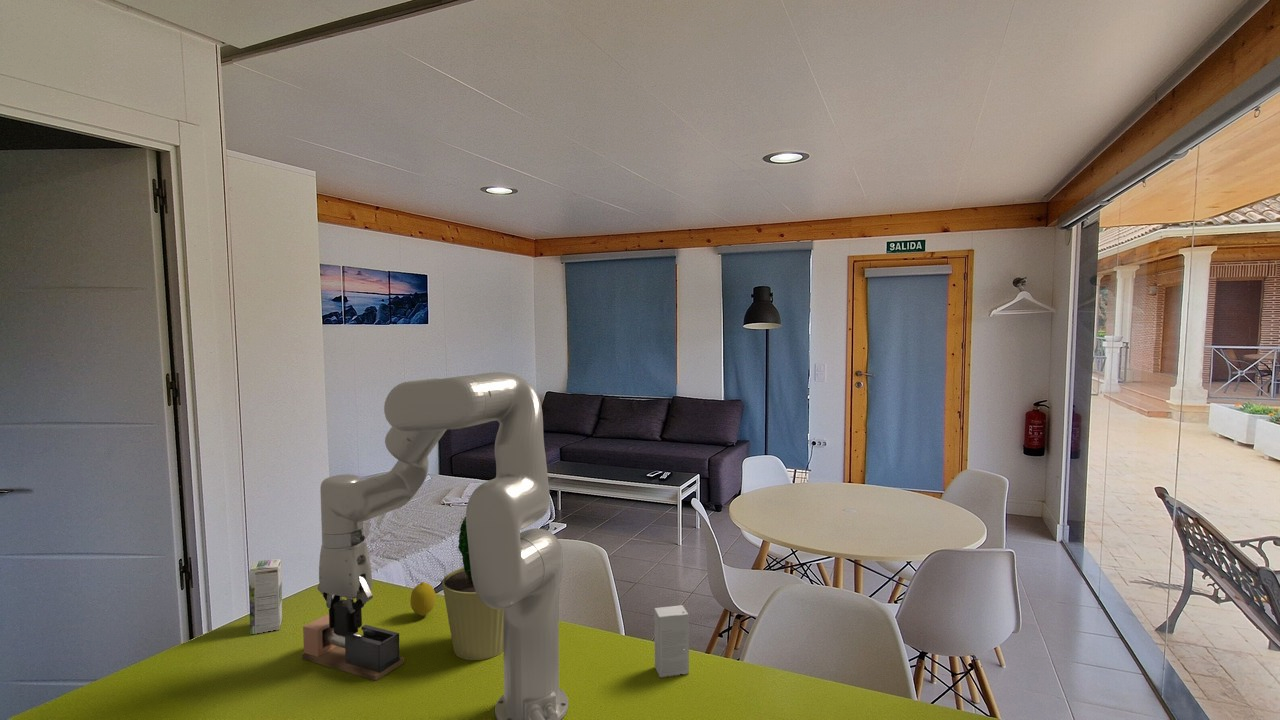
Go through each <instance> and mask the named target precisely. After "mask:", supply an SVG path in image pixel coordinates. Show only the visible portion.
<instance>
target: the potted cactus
mask: <svg viewBox="0 0 1280 720" xmlns="http://www.w3.org/2000/svg"><path fill="white" fill-rule="evenodd" d="M461 515H462V514H461ZM461 515H460V516H461ZM462 516H463V515H462ZM459 528H460V529H459ZM459 528H458V529H457V530H456V531H457V532H459V533H456V535H458V536H457V537H458V541H457V542H458V545H457V552H456V554H458V553H459V554H461V561H462V567H460V568H458V569H455V570H453V571H451V572H449V573H448V574H446V575H445V576H444V577H443V578H442V581H441V583H442V591H443V596H444V597H443V598H444V601H445V607H446V613H447V614H446V615H447V619H448V626H449V631H450V637H451V643H452V644H451V645H452V648H453V651H454V652H453V653H454V655H456V656H457V657H459V658H461V659H463V660H466V661H483V660H488V659H491V658H492V659H493V658H494V657H497V656H499V655H501V654H503V653H504V640H503V615H504V609H493V608H491V607H488V606H487V605H485V604H484V603H483V602H482V601H481V599H480V598H479V597H478V595H477V593H476V591H475V588H474V585H473V581H472V575H471V567H470V557H469V548H468V538H467V528H466V516H464V517H463V518H461V523H460V526H459Z"/></svg>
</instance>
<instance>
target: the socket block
mask: <svg viewBox="0 0 1280 720" xmlns="http://www.w3.org/2000/svg"><path fill="white" fill-rule="evenodd" d="M328 627H329V613H328V614H325V615H323V616H320V617H318V618H317V619H316V620H313V621H311V622H308V623H307V624H304V625H303V626H302V632H303V633H302V634H303V653H306V654H310V655H313V656H317V657H319V656H321V655H322V654H324V653H326V652H328V651H329V650H331V649H333V648H335V647H337V646H335V645H331V644H328V643H324V642H322V630H324V629H326V628H328Z"/></svg>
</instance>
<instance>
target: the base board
mask: <svg viewBox="0 0 1280 720" xmlns="http://www.w3.org/2000/svg"><path fill="white" fill-rule="evenodd" d="M301 659H302V660H304V661H305V660H306V661H307V662H312V663H316V664H319V665H322V666H325V667H329V668H332V669H335V670H338V671H342V672H345V673H349V674H352V675H355V676H358V677H362V678H366V679H368V680H372V681H378V680H380V679H381V678H383V677H384V676H386V675H387V674H388V673H390V672H392V671H394V670H395V669H396V668H398V667H399V666H400V665H403V664H404V657H403V656H400V660H399V661H398V662H396V663H395V664H393V665H392V666H390V667H389V668H387V669H386V670H384V671H382V672H381V673H378V672H375V671H372V670H368V669H365V668H361V667H358V666H354V665H351V664H347V663H346V656H345V648H342V647H338V646H337V647H335V648H333V649H331V650H329V651H328V652H326V653H324V654H322V655H321V656H319V657H317V656H313V655H310V654H306V653H304V652H302V653H301Z"/></svg>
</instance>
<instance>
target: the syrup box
mask: <svg viewBox="0 0 1280 720" xmlns="http://www.w3.org/2000/svg"><path fill="white" fill-rule="evenodd" d="M282 571H283V569H282V559H280V558H276V559H275V558H272V559H271V558H270V559H262V560H258V561H253V562H252V565H251V567H250V569H249V573H248V575H249V576H248V577H249V579H248V580H249V581H248V582H249V584H248V585H249V587H248V588H249V589H248V590H249V597H248V598H249V635H250V636H253V635H252V634H254V635H258V634H257V633H260V634H264V633H263V632H265V633H269V632H268V631H271V632H274V631H273V630H276V631H279V630H280V629H281V626H280V625H281V624H282V620H283V580H282V579H283V577H282Z"/></svg>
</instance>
